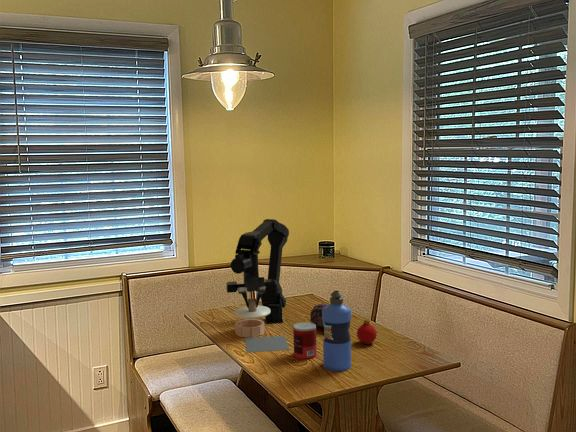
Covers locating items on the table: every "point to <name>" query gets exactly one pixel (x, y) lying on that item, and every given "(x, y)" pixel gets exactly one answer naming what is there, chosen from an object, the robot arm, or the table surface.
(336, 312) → the water bottle
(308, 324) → the canned food
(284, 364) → the table surface
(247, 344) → the mat
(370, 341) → the christmas ornament
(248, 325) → the bowl
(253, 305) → the lid
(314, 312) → the pine cone
